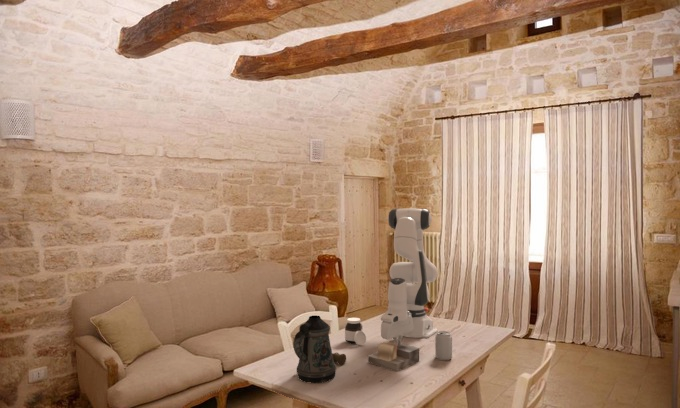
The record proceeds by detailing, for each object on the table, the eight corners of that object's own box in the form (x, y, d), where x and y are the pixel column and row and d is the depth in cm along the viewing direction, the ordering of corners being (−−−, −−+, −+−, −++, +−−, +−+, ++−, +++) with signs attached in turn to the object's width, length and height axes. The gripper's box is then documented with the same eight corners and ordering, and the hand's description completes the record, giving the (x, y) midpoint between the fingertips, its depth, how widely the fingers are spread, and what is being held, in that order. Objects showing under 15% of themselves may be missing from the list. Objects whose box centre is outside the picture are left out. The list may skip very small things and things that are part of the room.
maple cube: (386, 341, 216) (377, 344, 212) (397, 344, 212) (388, 347, 207) (386, 354, 216) (378, 358, 212) (397, 357, 212) (388, 361, 208)
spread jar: (351, 338, 252) (351, 316, 251) (371, 341, 247) (370, 318, 246) (341, 344, 241) (341, 321, 240) (361, 347, 236) (361, 324, 236)
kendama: (335, 369, 208) (303, 357, 222) (350, 364, 216) (318, 353, 229) (336, 355, 208) (304, 344, 222) (350, 350, 216) (318, 340, 229)
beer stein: (340, 370, 205) (339, 312, 205) (328, 388, 187) (328, 324, 186) (303, 367, 209) (303, 310, 209) (288, 384, 190) (288, 322, 190)
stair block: (391, 353, 227) (391, 340, 227) (419, 361, 216) (419, 348, 216) (368, 362, 215) (368, 349, 215) (396, 371, 204) (396, 357, 204)
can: (441, 354, 225) (441, 329, 225) (455, 358, 220) (455, 332, 220) (432, 358, 220) (432, 332, 220) (446, 362, 215) (446, 335, 214)
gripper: (405, 309, 227) (405, 338, 227) (378, 317, 212) (378, 348, 212) (416, 311, 223) (416, 341, 223) (389, 320, 208) (389, 351, 208)
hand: (397, 344), depth 217 cm, fingers closed
